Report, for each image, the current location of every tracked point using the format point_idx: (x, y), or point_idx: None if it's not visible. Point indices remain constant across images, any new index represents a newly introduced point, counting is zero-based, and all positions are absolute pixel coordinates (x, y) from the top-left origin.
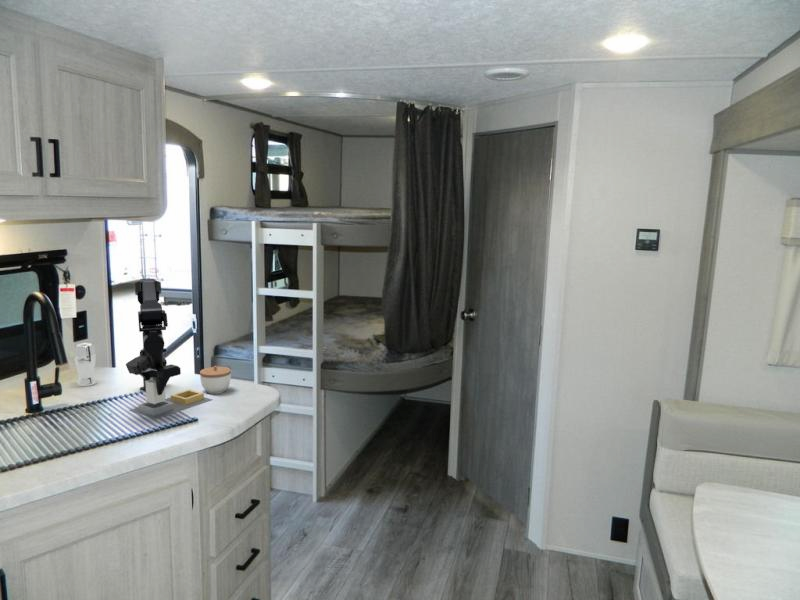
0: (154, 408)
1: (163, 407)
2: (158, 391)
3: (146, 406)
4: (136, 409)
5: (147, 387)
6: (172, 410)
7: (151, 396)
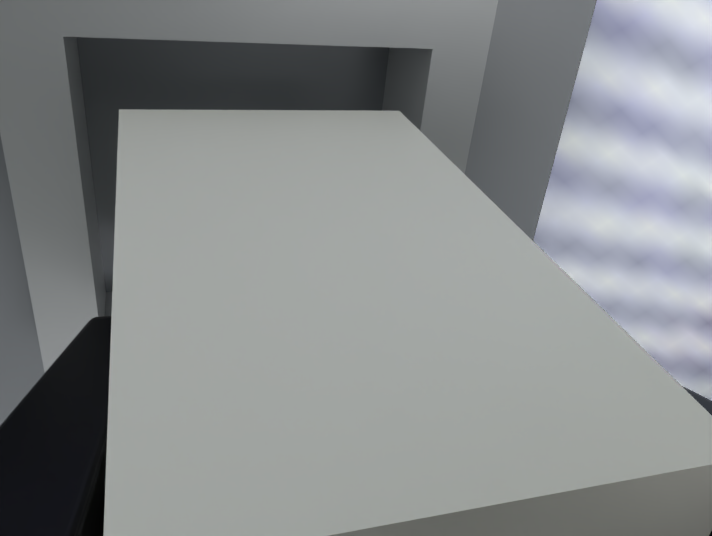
0: (31, 29)
1: (19, 205)
2: (45, 378)
3: (300, 23)
4: (537, 4)
5: (491, 295)
6: (8, 292)
7: (234, 175)
